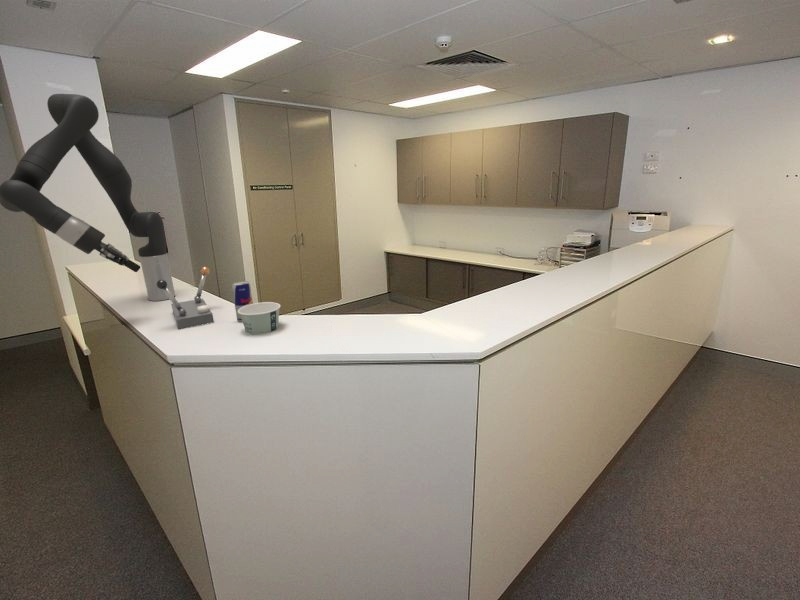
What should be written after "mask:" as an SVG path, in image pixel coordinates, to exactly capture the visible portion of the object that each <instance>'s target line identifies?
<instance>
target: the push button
mask: <svg viewBox="0 0 800 600" xmlns="http://www.w3.org/2000/svg"><path fill="white" fill-rule="evenodd" d="M197 308H198V313H205V312H208V311H209V309H210V308H209V304H207V305H202V306H198V307H197Z"/></svg>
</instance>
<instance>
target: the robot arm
mask: <svg viewBox="0 0 800 600" xmlns="http://www.w3.org/2000/svg"><path fill="white" fill-rule="evenodd" d="M46 105H47V109H48V112H49V114H50V117H51V118H52V119H53V121H54V122H55V123H56V124H57V125H56V127H54V129H52V130H51V131H50V132H48V133H47V134H46V135H44V136H43V137H41V138H40V139H38V140H37V141H36V142H35V143H33V144H32V145H31V146H30V147H29V148H28V149H27V151H26V152H25V153H24V155H23V156H22V157H21V159H20V160H19V161H18V163H17V165H16V167H15V170H14V172H13V174H12V175H11V176H10V178H9V179H8V180H6V181H5V180H4V181H3V182H2V183H1V184H0V205H1V206H2V207H3V208H4V209H6V210H7V211H10V212H13V213H21V212H24V213H25V214H26V215H28V216H30V217H32V218H33V219H34V221H35V222H36V223H37V224H38V225H39V226H40V227H42V228H43V229H46V231H47V230H48V231H49V232H51V233H52V234H53V235H55V236H57V237H59V238H60V239H61V240H62V241H64V242H66V243H68V244H69V245H71V246H73V247H75V248H76V249H78V250H79V251H82V252H83V253H84V254H86V255H89V254H91V253H92V252H93V251H94V250H96V251H97V252H98V253H99V256H101V257H102V258H105V259H107V260H108V261H111V262H113V263H116V264H118V265H119V266H121V267H122V266H123V267H125V268H127V269H129V270H131V271H132V272H135V273H137V272H138V271H139V270H140V269H141V270H142V271H141V272H142V274H143V279H144V283H145V288H146V292H147V297H148V300H149V301H152V302H156V301H157V302H159V301H160V302H161V301H165V300H170V299H169V298H168V296H167V295H166V294H165V292H164V291H163V290H162V289H159V288H158V287H157V285H156V284H157V282H158V281H159V280H165V281H166V282H167V288H168V289H169V290H170V292H171V293H172V295H173V296H175V297H176V293H175V292H176V291H175V287H174V286H175V285H174V282H173V277H172V271H171V267H170V263H169V262H170V261H169V256H168V254H167V253H168V252H167V238H166V231H165V225H164V221H163V218H162V216H161V215H160V214H159V213H158V212H155V211H142V212H140V211H138V210H137V209H136V207H135V206H134V204H133V202H132V199H131V197H132V187H133V184H132V182H133V181H132V177H131V175H130V173H129V172H128V171H127V168H126V167H125V165H124V163H123V162H122V160H120V158H119V157H117V156H116V154H115V153H113V152H112V151H111V150H110V149H109V148H108V147H106V146H105V144H103V143H102V142H100V141H99V140H98V139H97V138H96V137H95V135H94V134H93V133H92V131H91V129H92V128H93V127H94V126H95V125H97V123H98V120H99V115H100V113H99V109H98V107H97V105H96V104H95V102H94V101H93V100H92V99H91V98H89V97H88V96H85V95H82V94H74V93H73V94H72V93H53V94H51V95H50V96H49V97H48V99H47V104H46ZM73 147H75V149H76V150H77V152H78V153H79V154H80V156H81V157H82V158H83V160H84V161H85V163H86V165H87V166H88V167H89V169H90V171H91V172H92V174H93V175H94V177H95V179H97V181H98V183H99V185H101V188H102V189H103V190H104V191H105V193H106V194H107V195H108V197H109V199H110V200H111V202H112V203H113V205H114V207H115V208H116V210H117V212H118V214H119V216H120V218H121V220H122V221H123V223H124V225H125V227H126V229H127V230H128V232H129V233H130V234H131V235H132V236H133V237H135V238H148V243H147V244H146V245H144V246H141V247H139V248H138V250H137V252H138V256H139V257H138V258H139V261H140V265H139V264H138V263H135V262H134V261H133V260H132V259H130V258H129V257H128V256H127V255H125V253H123V251H121V250H119V249H118V248H115V246H114V245H112V244H111V243H107V244H106V243H104V242H102V241H103V239H104V238H105V237H106V235H105V233H104V232H102V231H100V230H99V229H97V228H95V227H94V226H93V225H90V224H89V223H88V222H86V221H84V220H82V219H80V218H78V217H77V216H75V215H73V214H71V213H70V212H68V211H67V210H64V208H62V207H61V206H60V207H59V206H58V205H56V204H55V203H54V202H52V201H51V200H50V199H49V198H48V197H46V196H45V195H44V194H43V193H41V190H42V189H43V186H44V185H45V184H46V182H48V180H49V179H50V178H51V176H52V174H53V173H54V172H55V170H56V168H57V167H58V165H59V164H60V163H61V161H62V160H63V158H64V157H65V156H66V155H67V154H68V153H69V152H70V151H71V150H72V149H73Z"/></svg>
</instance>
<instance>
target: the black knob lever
mask: <svg viewBox="0 0 800 600" xmlns="http://www.w3.org/2000/svg"><path fill="white" fill-rule="evenodd" d="M156 285H157V287H158V288H159V289H162V290H163V291H164V292H165V294H166V295H167V296H168V298H169V299H168V300H170V302H171V304H174V306H175V307H176V309H177V310H178V313H179V315H180V316H185V315H186V311H185V309H184V308H182V307H181V306H180V304H179V301H178V300H177V299H176V296H175V297H174V296H173V295H172V293H171V292H170V290H169V289H168V288H167V282H166V281H165V280H159V281H158V282H157V284H156Z"/></svg>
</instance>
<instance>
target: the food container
mask: <svg viewBox="0 0 800 600" xmlns="http://www.w3.org/2000/svg"><path fill="white" fill-rule="evenodd" d="M280 308H281V304H280V303H277V302H275V301H274V302H272V301H262V302H255V303H254V302H253V304H250V305H246V306H243V307H241V308H240V309H238V313H239V314H240V316H241V319H242V322H241V323H242V324H243V326H244V330H245V332H246V333H247V334H249V335H262V334H268V333H271V332H274V331H276V330H277V329H278V328H279V316H280Z"/></svg>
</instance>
